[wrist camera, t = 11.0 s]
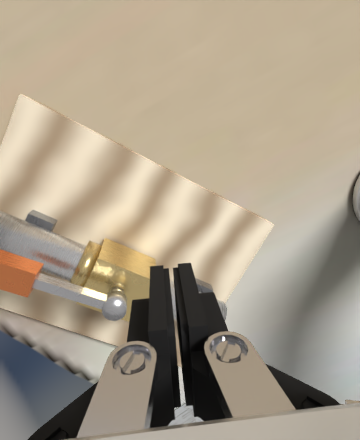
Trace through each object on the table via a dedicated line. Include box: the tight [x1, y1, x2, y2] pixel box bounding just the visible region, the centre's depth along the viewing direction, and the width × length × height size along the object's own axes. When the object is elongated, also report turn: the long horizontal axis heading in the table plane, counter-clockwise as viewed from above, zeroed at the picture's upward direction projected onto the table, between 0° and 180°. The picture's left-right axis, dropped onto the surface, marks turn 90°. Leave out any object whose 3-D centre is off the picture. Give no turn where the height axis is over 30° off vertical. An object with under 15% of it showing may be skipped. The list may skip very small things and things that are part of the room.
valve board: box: [0, 94, 274, 367], centre depth 38 cm, size 34×26×2 cm
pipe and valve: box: [0, 210, 227, 322], centre depth 34 cm, size 30×6×8 cm, turn 62°
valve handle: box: [0, 249, 127, 321], centre depth 28 cm, size 3×15×2 cm, turn 65°
